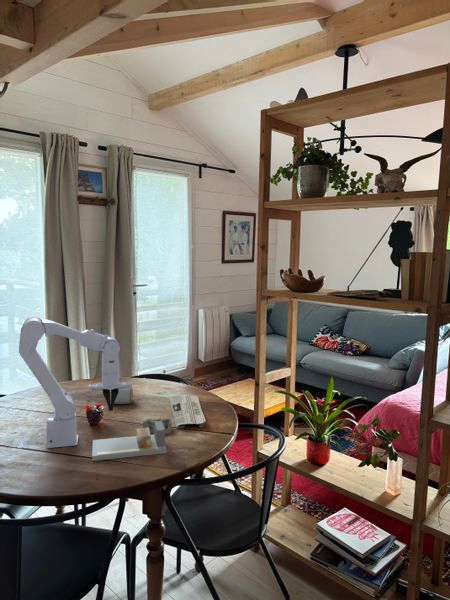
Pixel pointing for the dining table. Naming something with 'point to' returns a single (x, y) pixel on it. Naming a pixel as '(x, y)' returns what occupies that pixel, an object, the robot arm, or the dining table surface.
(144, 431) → the beige block with peg
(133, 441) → the gauge bed
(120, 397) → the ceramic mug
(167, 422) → the egg carton
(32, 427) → the dining table surface
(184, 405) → the newspaper
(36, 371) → the robot arm
